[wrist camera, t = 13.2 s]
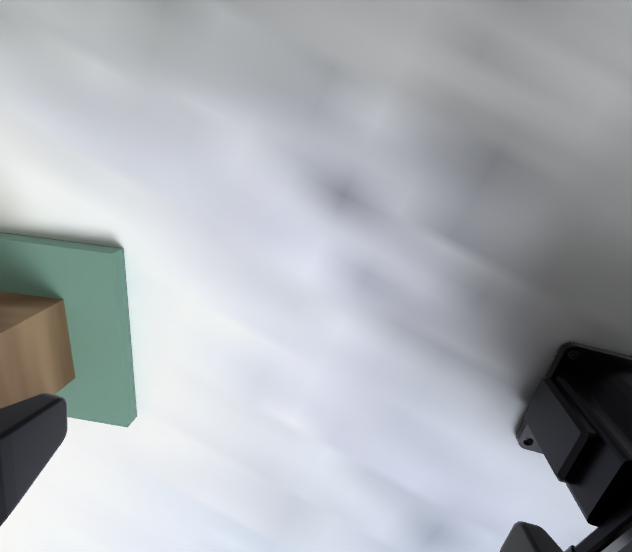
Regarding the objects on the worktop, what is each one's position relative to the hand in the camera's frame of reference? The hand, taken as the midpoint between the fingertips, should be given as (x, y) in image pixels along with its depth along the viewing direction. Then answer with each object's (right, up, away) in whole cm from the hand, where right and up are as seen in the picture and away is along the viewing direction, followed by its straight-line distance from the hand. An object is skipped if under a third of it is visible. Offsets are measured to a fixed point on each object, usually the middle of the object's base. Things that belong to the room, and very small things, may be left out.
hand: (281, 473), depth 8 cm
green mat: (-16, +1, +16) cm, 22 cm away
